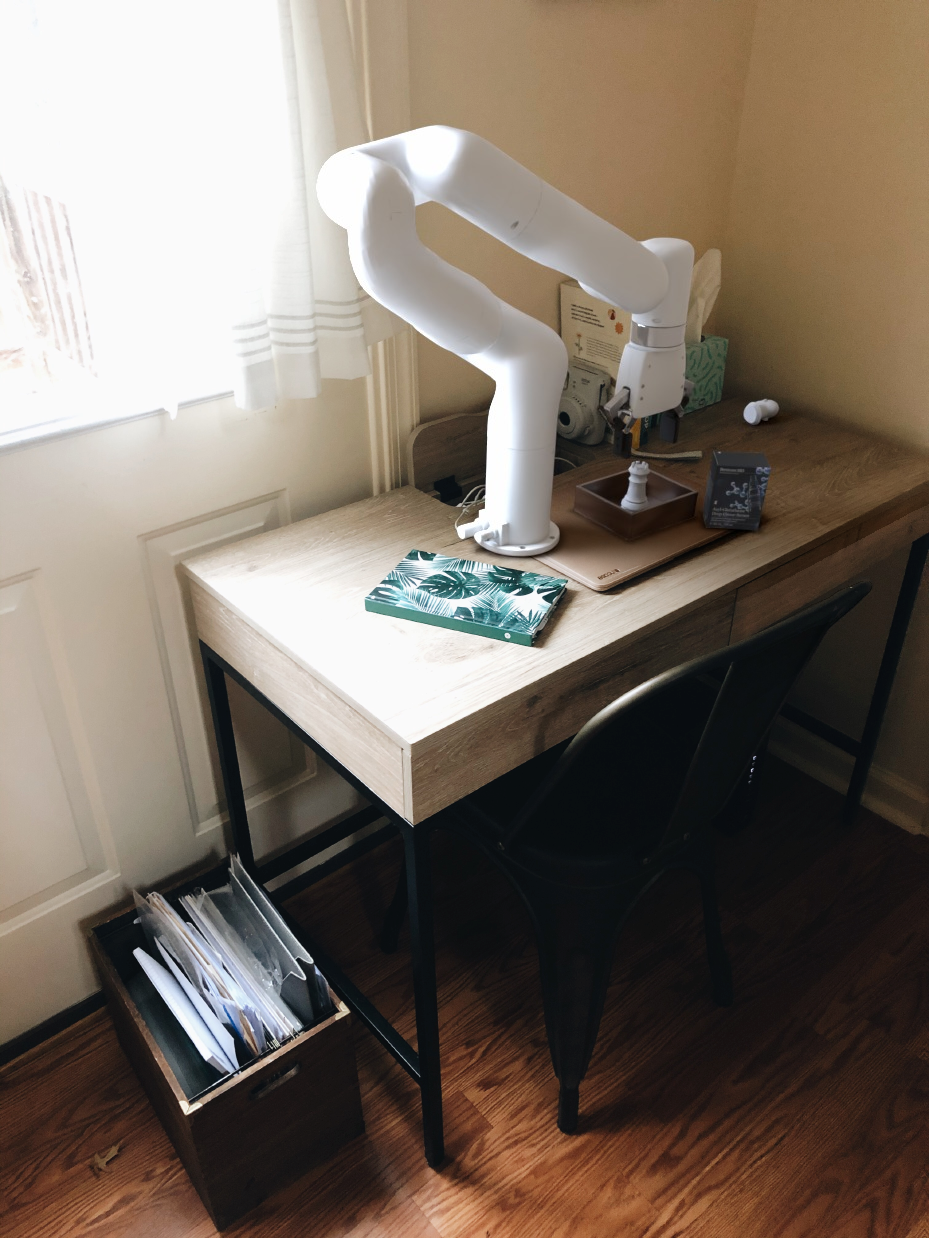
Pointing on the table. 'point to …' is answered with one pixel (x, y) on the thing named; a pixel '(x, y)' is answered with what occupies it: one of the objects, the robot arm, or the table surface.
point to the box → (736, 490)
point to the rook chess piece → (636, 488)
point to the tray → (664, 510)
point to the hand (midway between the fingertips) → (644, 448)
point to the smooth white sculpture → (760, 411)
